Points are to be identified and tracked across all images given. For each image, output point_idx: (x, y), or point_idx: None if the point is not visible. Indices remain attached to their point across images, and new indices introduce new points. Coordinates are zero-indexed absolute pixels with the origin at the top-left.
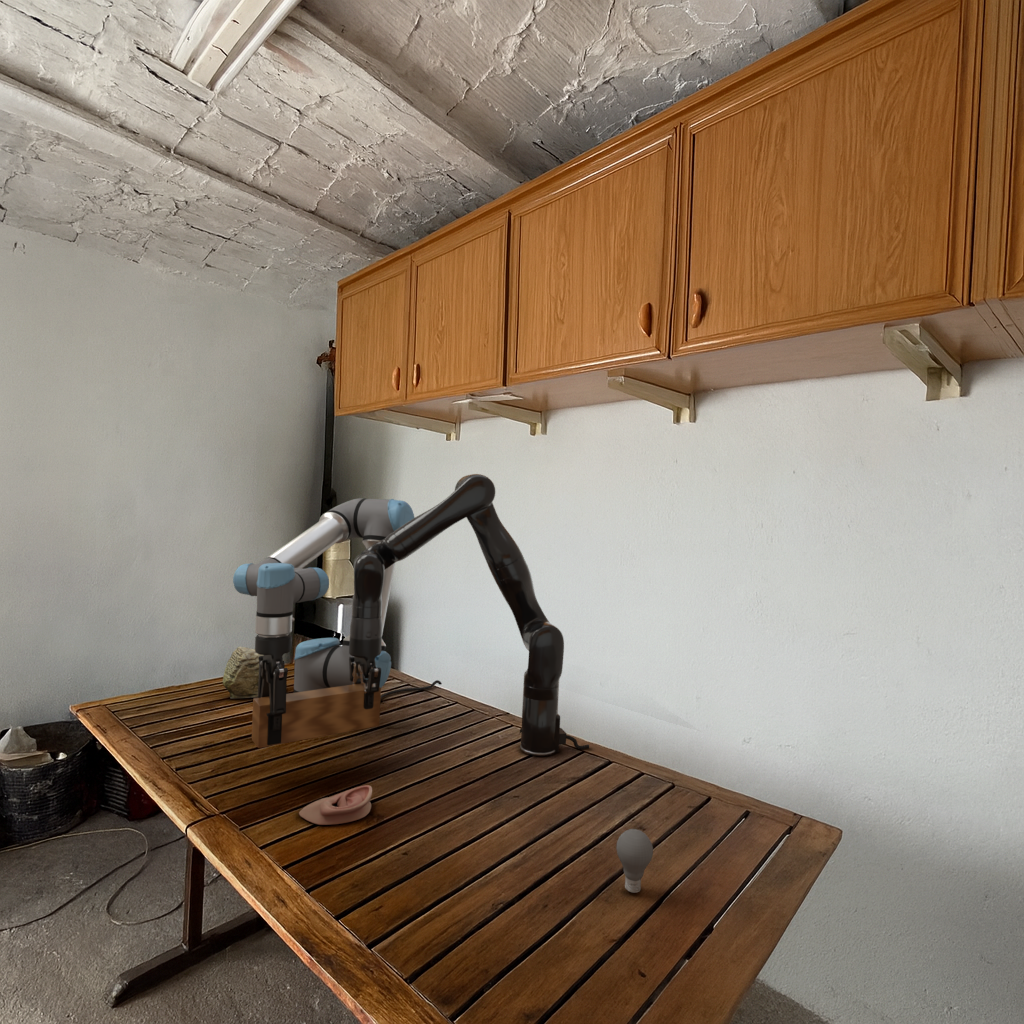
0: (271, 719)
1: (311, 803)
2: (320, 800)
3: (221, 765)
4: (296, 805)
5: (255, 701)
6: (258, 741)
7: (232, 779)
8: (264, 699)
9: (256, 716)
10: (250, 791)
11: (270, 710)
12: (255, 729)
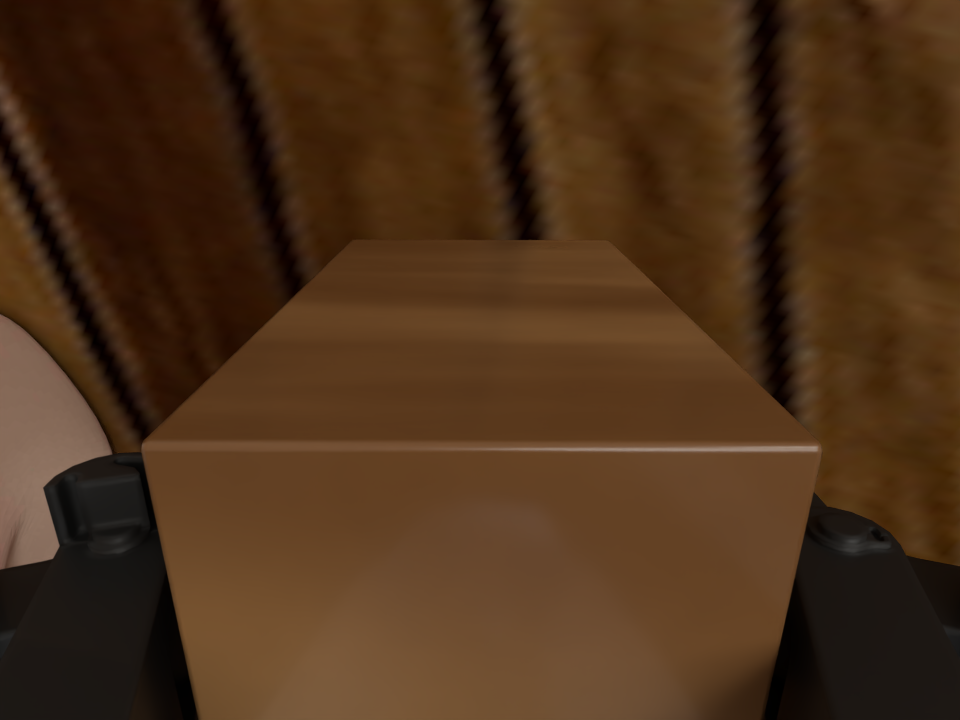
0: None
1: (30, 391)
2: (7, 436)
3: (905, 82)
4: (120, 330)
5: (568, 439)
6: (340, 253)
7: (637, 97)
8: (590, 634)
9: (442, 328)
10: (404, 156)
11: (129, 561)
12: (477, 274)
